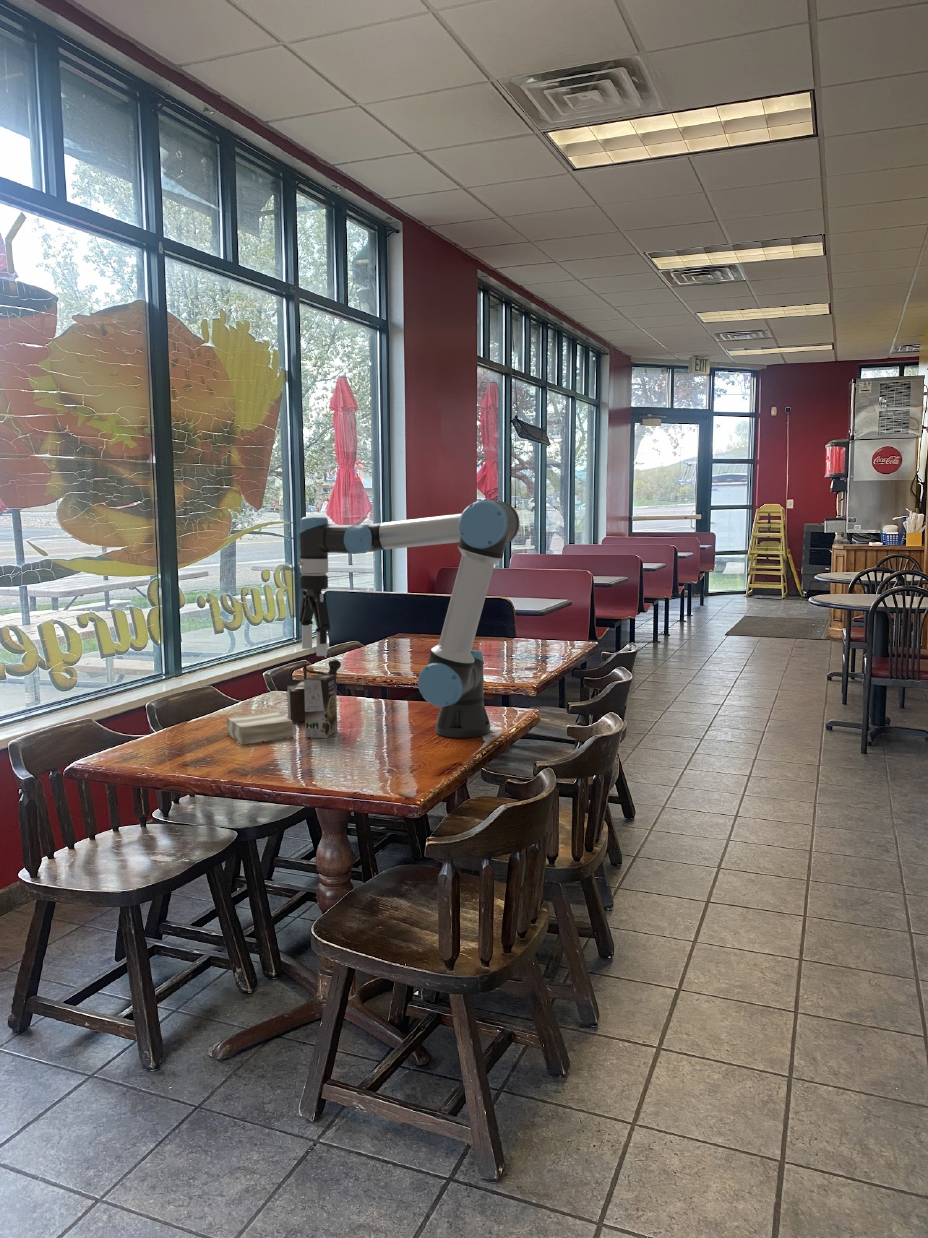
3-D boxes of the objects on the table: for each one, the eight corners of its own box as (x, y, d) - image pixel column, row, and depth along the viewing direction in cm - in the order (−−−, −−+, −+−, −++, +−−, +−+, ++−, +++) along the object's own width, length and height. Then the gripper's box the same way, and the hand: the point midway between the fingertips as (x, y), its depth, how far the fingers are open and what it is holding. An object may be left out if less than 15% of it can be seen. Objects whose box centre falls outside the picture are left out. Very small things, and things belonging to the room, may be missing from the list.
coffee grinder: (290, 723, 264) (288, 662, 262) (287, 716, 274) (285, 657, 272) (343, 720, 268) (341, 659, 266) (338, 712, 278) (336, 654, 276)
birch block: (293, 738, 247) (292, 720, 246) (242, 745, 240) (241, 727, 239) (276, 729, 259) (275, 711, 258) (227, 735, 252) (226, 717, 251)
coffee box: (327, 738, 245) (325, 679, 243) (304, 737, 246) (302, 679, 244) (338, 731, 254) (336, 674, 252) (316, 730, 255) (315, 673, 253)
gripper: (287, 571, 254) (288, 646, 257) (314, 577, 232) (314, 659, 234) (313, 571, 257) (314, 645, 260) (342, 577, 235) (342, 658, 238)
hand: (314, 652), depth 247 cm, fingers open, 13 cm apart
